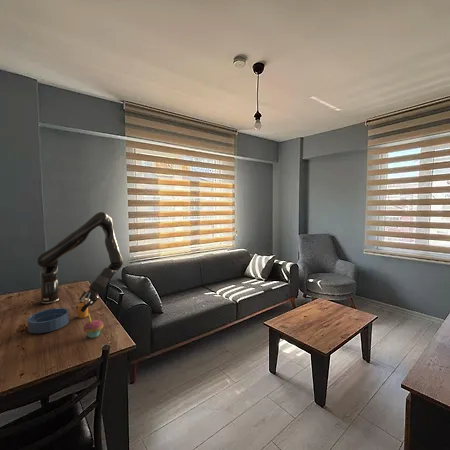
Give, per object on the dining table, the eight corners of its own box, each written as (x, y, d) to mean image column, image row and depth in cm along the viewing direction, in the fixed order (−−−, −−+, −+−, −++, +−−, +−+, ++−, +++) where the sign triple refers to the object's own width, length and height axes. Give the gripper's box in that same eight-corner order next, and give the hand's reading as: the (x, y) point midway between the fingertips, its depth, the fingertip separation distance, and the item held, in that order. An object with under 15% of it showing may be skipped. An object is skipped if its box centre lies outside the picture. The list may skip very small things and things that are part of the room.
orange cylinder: (79, 314, 143) (78, 301, 142) (89, 313, 144) (88, 300, 144) (76, 318, 138) (76, 304, 137) (87, 317, 139) (86, 303, 139)
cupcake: (83, 341, 114) (82, 316, 114) (84, 333, 122) (83, 310, 121) (104, 337, 118) (102, 313, 117) (103, 329, 126) (102, 306, 125)
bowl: (37, 320, 136) (36, 309, 135) (73, 316, 141) (73, 306, 140) (20, 336, 119) (20, 324, 118) (62, 331, 124) (61, 320, 123)
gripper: (110, 289, 146) (90, 316, 138) (97, 284, 155) (78, 309, 146) (101, 282, 142) (80, 310, 133) (88, 278, 150) (68, 304, 141)
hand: (79, 310), depth 139 cm, fingers closed on orange cylinder, 5 cm apart
